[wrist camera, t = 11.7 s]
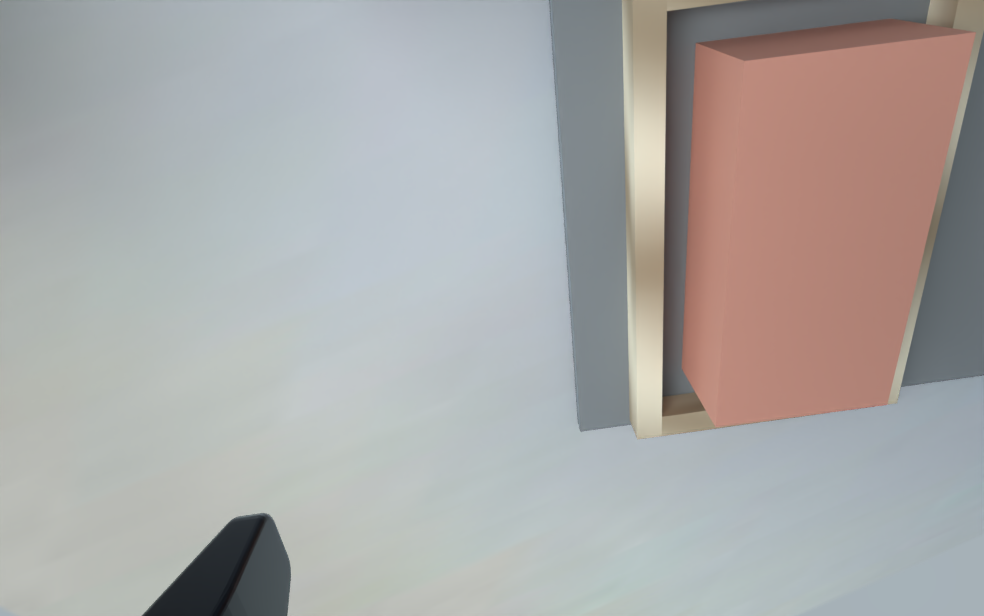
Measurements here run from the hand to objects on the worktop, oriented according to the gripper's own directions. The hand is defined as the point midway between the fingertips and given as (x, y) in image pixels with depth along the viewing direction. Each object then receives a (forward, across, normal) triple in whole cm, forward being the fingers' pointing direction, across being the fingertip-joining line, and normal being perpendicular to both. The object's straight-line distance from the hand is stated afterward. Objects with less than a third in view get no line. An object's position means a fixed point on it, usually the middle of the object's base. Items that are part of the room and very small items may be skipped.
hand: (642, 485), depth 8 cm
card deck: (+12, -7, +2) cm, 14 cm away
